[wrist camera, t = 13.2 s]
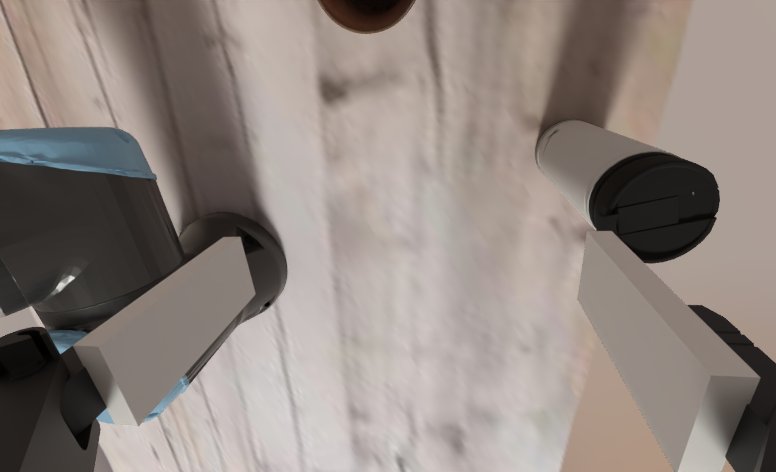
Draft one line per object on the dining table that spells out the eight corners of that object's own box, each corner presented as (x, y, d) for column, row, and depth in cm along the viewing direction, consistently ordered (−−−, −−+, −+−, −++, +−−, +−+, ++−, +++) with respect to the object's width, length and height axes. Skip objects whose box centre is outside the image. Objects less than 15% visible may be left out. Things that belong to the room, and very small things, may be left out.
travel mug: (527, 129, 38) (596, 179, 20) (596, 112, 36) (740, 150, 18) (535, 185, 40) (603, 277, 22) (600, 172, 38) (732, 259, 20)
